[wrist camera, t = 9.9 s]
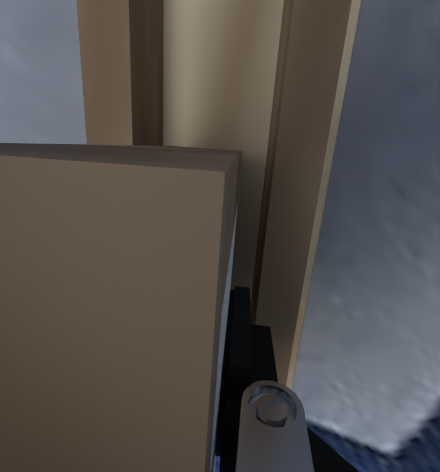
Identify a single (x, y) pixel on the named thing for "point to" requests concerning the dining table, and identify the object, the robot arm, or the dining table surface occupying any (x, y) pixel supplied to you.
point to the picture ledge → (233, 119)
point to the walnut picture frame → (113, 305)
